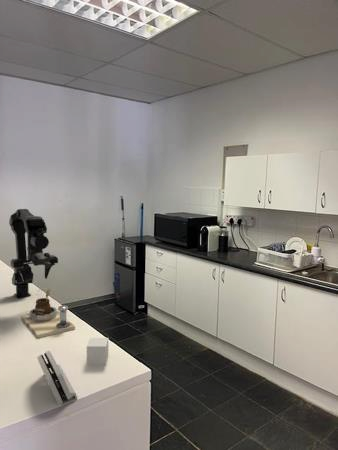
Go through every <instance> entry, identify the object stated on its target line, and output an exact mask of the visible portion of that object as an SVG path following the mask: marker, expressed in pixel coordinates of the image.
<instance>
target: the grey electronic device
mask: <svg viewBox="0 0 338 450" xmlns="http://www.w3.org/2000/svg"><path fill="white" fill-rule="evenodd" d="M36 359H37V361H38V363H39V365H40V368H41V370H42V373H43V374H44V377H45V379H46V381H47V384H48V386H49V387H50V390H51V392H52V394H53V397H54V399H55V401H56V403H57V405H58V404H60V405H62V404H64V401H65V400H71V399H72V398H73V397H74V396H75V397H74V398H75V399H76V398H78V395H77V393H76V392H75V389H74V388H73V386H72V384H71V382H70V381H69V378H68V377H67V375H66V374H65V372H64V370H63V368H62V366H61V365H60V364H57V362H56V360H55V358H54V356H53V354H52V352H51V350H47V351H45V353H43V354H40V355H38V356H37V357H36Z"/></svg>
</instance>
